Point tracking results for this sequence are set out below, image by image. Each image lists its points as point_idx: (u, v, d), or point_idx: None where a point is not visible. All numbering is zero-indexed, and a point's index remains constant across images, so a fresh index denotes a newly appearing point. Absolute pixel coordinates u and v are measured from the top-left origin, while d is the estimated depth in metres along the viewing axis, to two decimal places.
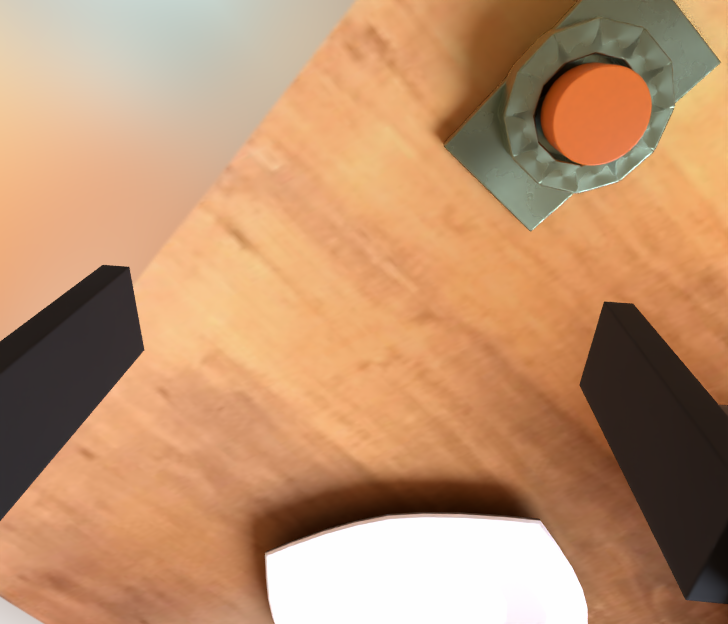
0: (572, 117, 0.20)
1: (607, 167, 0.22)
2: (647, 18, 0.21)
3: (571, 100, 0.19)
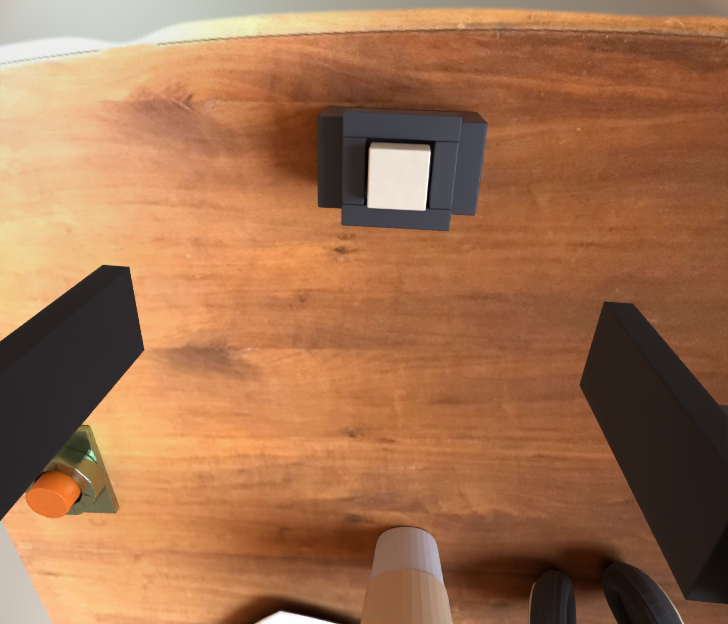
0: (40, 509, 0.44)
1: (86, 496, 0.46)
2: None
3: (33, 506, 0.44)
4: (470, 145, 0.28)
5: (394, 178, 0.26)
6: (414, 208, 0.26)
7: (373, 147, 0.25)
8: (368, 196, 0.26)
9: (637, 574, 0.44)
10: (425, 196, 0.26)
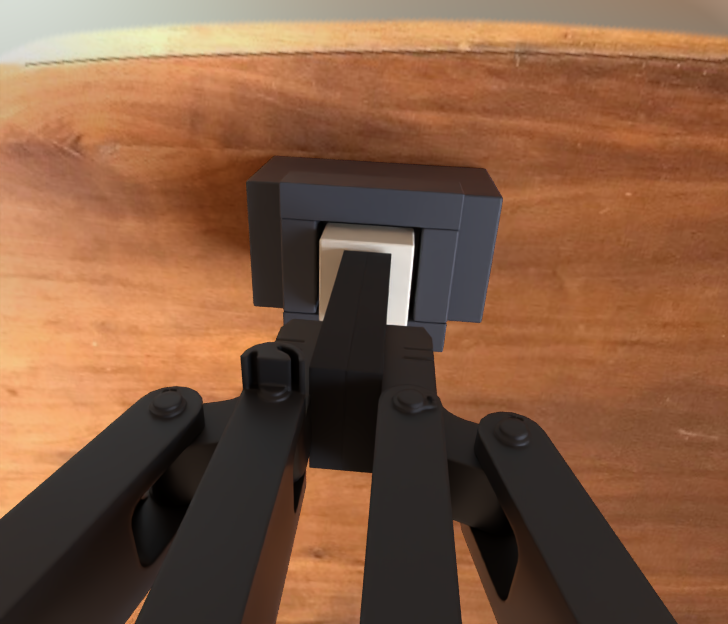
0: None
1: None
2: None
3: None
4: (476, 228, 0.18)
5: None
6: (390, 324, 0.18)
7: (326, 237, 0.16)
8: (320, 306, 0.17)
9: None
10: (406, 308, 0.17)
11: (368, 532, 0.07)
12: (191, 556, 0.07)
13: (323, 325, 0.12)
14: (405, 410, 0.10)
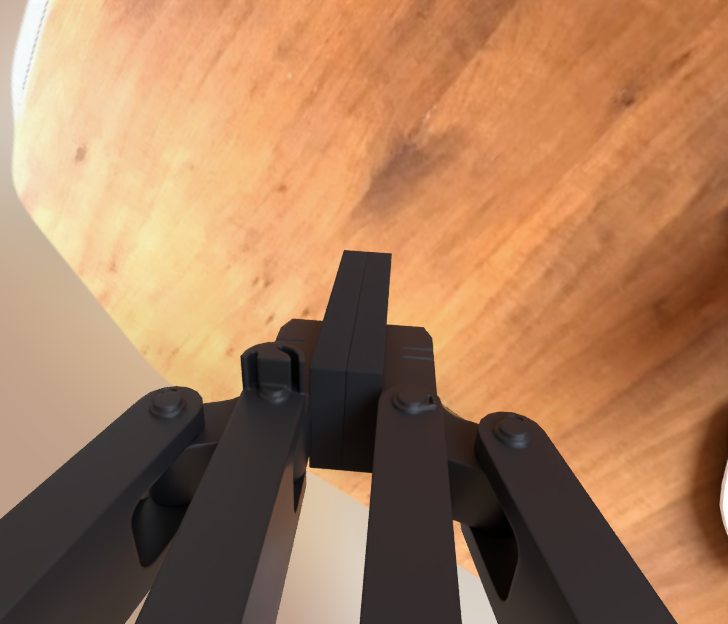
0: None
1: None
2: None
3: None
4: None
5: None
6: None
7: None
8: None
9: None
10: None
11: (368, 532, 0.07)
12: (191, 556, 0.07)
13: (323, 325, 0.12)
14: (405, 410, 0.10)
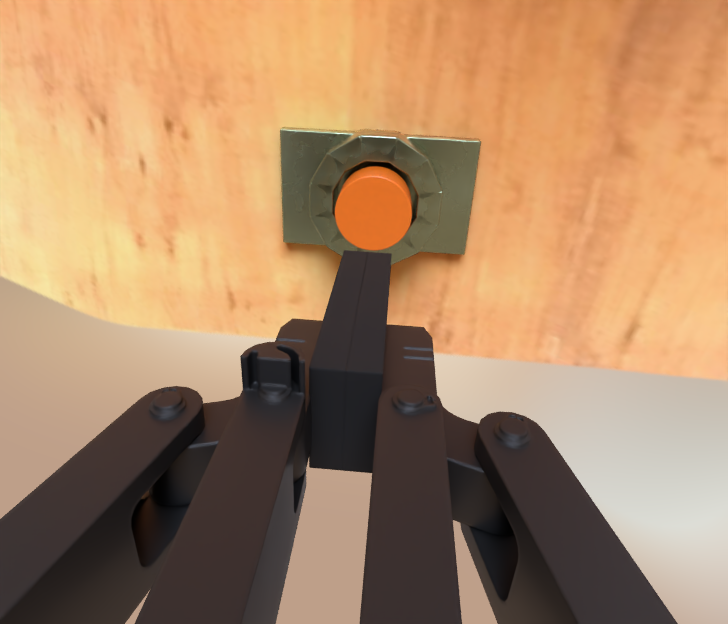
0: (387, 232, 0.24)
1: (395, 156, 0.24)
2: (301, 200, 0.28)
3: (379, 241, 0.25)
4: None
5: None
6: None
7: None
8: None
9: None
10: None
11: (368, 532, 0.07)
12: (191, 556, 0.07)
13: (323, 325, 0.12)
14: (405, 410, 0.10)
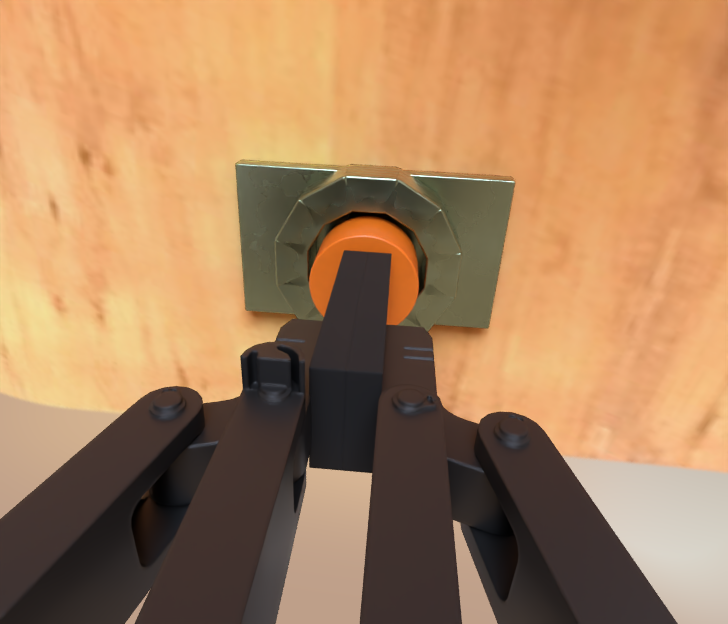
0: None
1: (395, 205, 0.17)
2: (267, 258, 0.20)
3: None
4: None
5: None
6: None
7: None
8: None
9: None
10: None
11: (368, 532, 0.07)
12: (191, 556, 0.07)
13: (323, 325, 0.12)
14: (405, 410, 0.10)
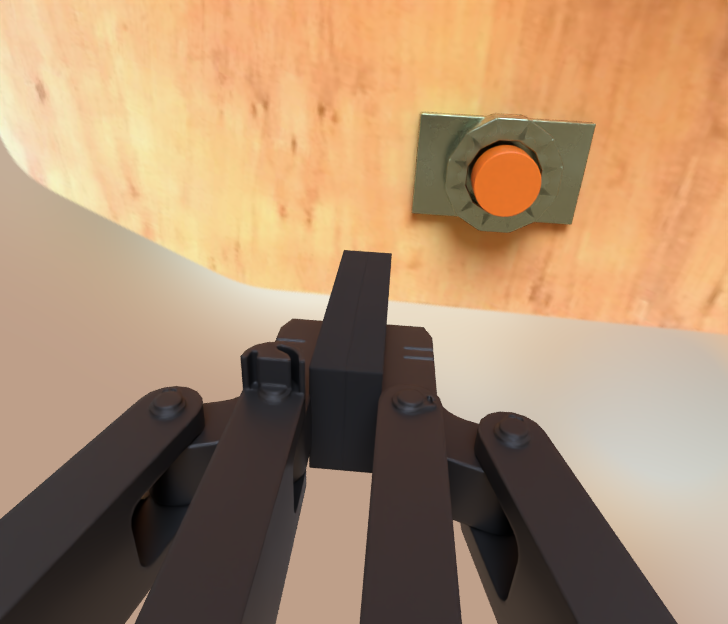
0: (517, 200, 0.29)
1: (525, 136, 0.29)
2: (432, 176, 0.32)
3: (510, 209, 0.29)
4: None
5: None
6: None
7: None
8: None
9: None
10: None
11: (368, 532, 0.07)
12: (191, 556, 0.07)
13: (323, 325, 0.12)
14: (405, 410, 0.10)
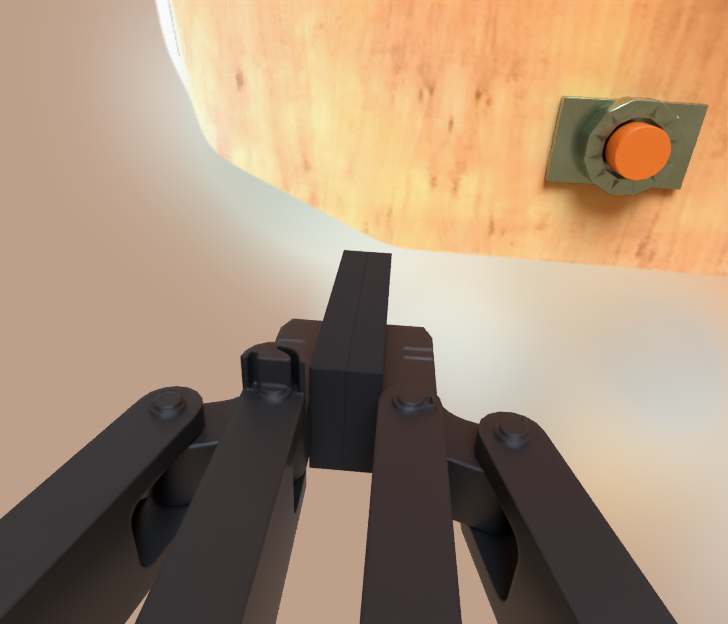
0: (650, 166, 0.35)
1: (656, 114, 0.35)
2: (567, 149, 0.39)
3: (642, 173, 0.36)
4: None
5: None
6: None
7: None
8: None
9: None
10: None
11: (368, 532, 0.07)
12: (191, 556, 0.07)
13: (323, 325, 0.12)
14: (405, 410, 0.10)
